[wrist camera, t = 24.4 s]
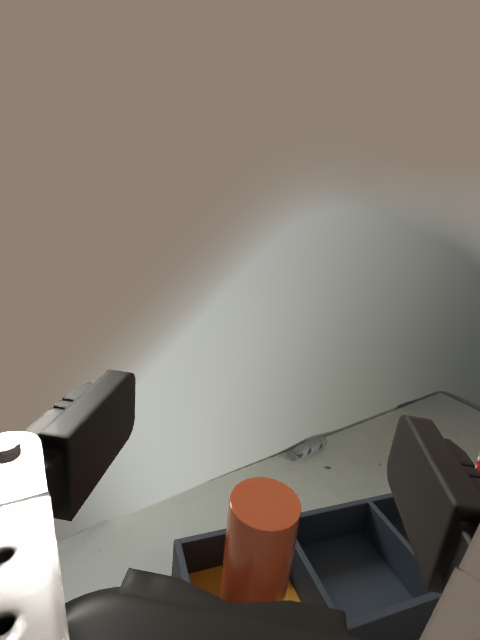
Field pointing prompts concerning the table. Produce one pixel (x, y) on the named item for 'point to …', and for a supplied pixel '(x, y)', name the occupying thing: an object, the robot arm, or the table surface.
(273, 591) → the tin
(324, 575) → the gray storage bin
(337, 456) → the table surface
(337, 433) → the table surface
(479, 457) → the soda can
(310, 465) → the table surface
